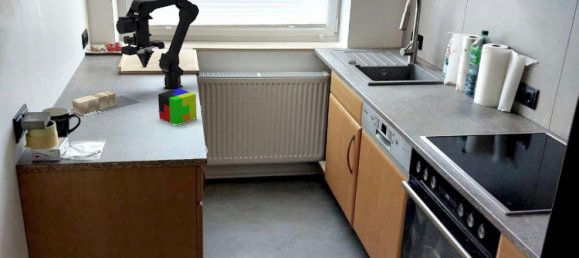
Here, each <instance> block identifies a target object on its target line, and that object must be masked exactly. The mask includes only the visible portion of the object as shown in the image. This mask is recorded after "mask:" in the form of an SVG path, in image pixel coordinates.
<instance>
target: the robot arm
mask: <svg viewBox="0 0 579 258" xmlns="http://www.w3.org/2000/svg"><path fill="white" fill-rule="evenodd" d="M171 6H175V8H177V9H178V23H177V26H176V28H175V31H174V34H173V36H172V39H171V42H170V44H169V47H168V50H167V51H165V53H164V52H161V55H160V58H159V60H158V66H159V69H160V71H161V72H162V73H163V74H164V78H163V79H164V80H163V81H164V82H163V83H164V86H163V89H165V90H166V89H167V90H174V89H178V88H179V89H182V88H183V87H184V85H183V84H182V77H181V76H183V74H184V70H183V69H182V68H181V67H180V53H181V50H182V48H183V44H184V41H185V39H186V37H187V34H188V31H189V28H190V25H191V24H192V23H194V21H196V19H197V17H198V16H199V13H200V9H199V6H198V5H197V4H195V3H193V2H191V1H190V0H132V2H131V4H130V7H129V9H128V11H127V13H126V14H125V16H118V19H117V21H116V24H115V28H116V31H117V32H118V34H119V35H124V34H125V36H123V41H122V42H123V44H124V46H123V45H122V46H121V47H120V54H122V55H126V56H135V55H136V56H137V57H138V59H139V61H140V63H141V66H142V67H143V68H144V69H145V68H147V67H148V65H149V61H150V59H151V58H152V55H153V54H154V53H155V50H153V49H154V48H158V50H164V49H166V45H165V42H163V41H161V40H158V39H154V40H150V39H151V37H152V36H153V35H152V33H151V32H150V22H149V21H151V20H153V19H154V17H153V16H152V15H151V14H152V13H154V11H155V10H158V9H163V8H166V7H171ZM126 34H132V36H131V37H130V36H129V35H126Z"/></svg>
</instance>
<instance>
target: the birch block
mask: <svg viewBox="0 0 579 258" xmlns="http://www.w3.org/2000/svg"><path fill="white" fill-rule="evenodd" d="M116 97H117V94H116V92H112V91H110V90H106V91H102V92H97V93H93V94H91V95H87V96H83V97H78V98H74V99H72V109H73V111H72V112H73V113H75V114H77V115H80V116H84V115H83V114H87V113H90V112H94V111H98V110H102V109H105V108H108V107H112V106H115V105H117V104H116Z"/></svg>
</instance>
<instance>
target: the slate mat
mask: <svg viewBox="0 0 579 258" xmlns="http://www.w3.org/2000/svg"><path fill="white" fill-rule="evenodd" d="M137 103H139V101H138V100H136V99H132V98H130V97H126V96H123V95H119V96H116V104H117V105H115V106H112V107H108V108H105V109H102V110H98V111H101V112H103V113H108V112H110V111H114V110H116V109H120V108H124V107H127V106H131V105H135V104H137ZM70 111H71V112H74V111H73V108H72V109H70ZM104 111H105V112H104ZM107 111H108V112H107ZM96 112H97V111H96ZM97 113H98V112H97Z"/></svg>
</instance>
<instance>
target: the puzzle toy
mask: <svg viewBox="0 0 579 258" xmlns="http://www.w3.org/2000/svg"><path fill="white" fill-rule="evenodd" d="M157 100H158V113H159V114H158V115H159V116H158V117H159V118H160V119H159V120H162V119H163V120H162V121H164V120H166V121H165V122H167V121H168V122H167V123H169V122H171V123H170V124H172V123H174V124H179V123H182V122H185V123H187V122H186V121H188V122H190V121H189V120H191V121H193V120H195V119H194V118H196V119H197V116H198V115H197V94H196V93H193V92H191V91H188V90H184V89H182V88H178V89H174V90H173V89H170V90H168V91H164V92H160V93H158V94H157ZM192 119H193V120H192ZM174 124H173V125H174ZM182 124H183V123H182ZM179 125H180V124H179Z"/></svg>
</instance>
